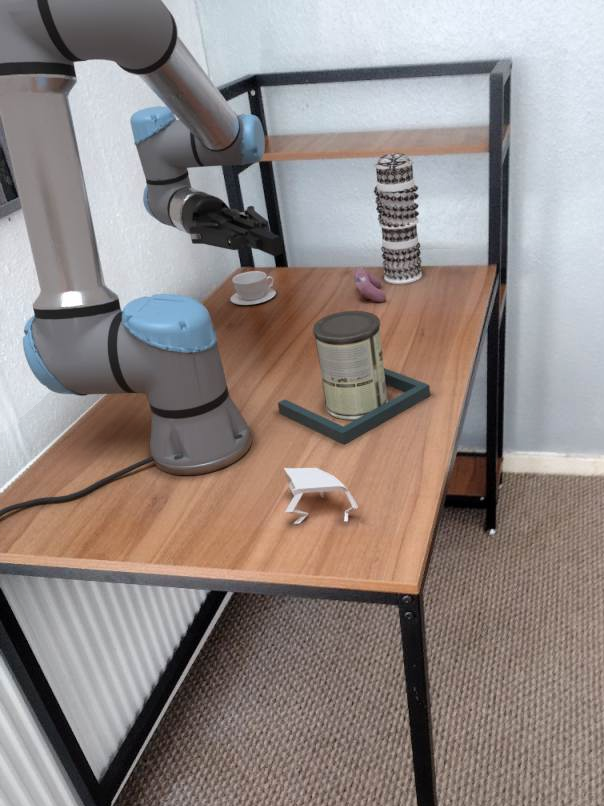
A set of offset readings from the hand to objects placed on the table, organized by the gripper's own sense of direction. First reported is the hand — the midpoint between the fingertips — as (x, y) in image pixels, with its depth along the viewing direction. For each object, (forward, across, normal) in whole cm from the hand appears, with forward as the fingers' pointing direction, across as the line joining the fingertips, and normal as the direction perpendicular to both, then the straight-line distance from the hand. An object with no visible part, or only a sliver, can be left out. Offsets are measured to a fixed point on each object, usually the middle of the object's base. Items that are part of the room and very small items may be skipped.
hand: (277, 246), depth 122 cm
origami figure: (+33, +20, -22) cm, 45 cm away
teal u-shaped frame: (+13, -1, -24) cm, 27 cm away
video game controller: (-22, -33, -27) cm, 48 cm away
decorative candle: (-24, -45, -27) cm, 58 cm away
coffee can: (+14, -1, -24) cm, 28 cm away
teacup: (-42, -16, -27) cm, 53 cm away
